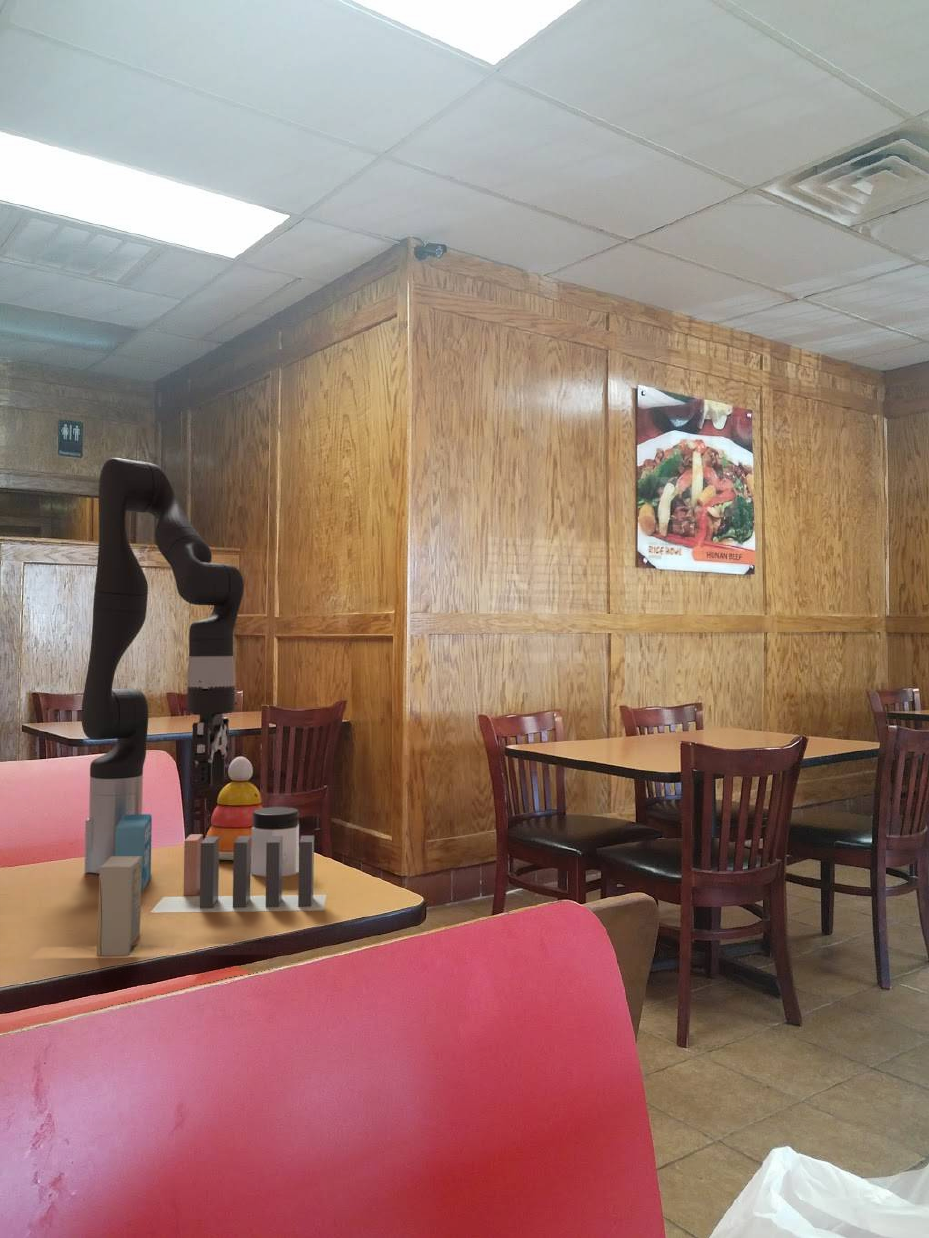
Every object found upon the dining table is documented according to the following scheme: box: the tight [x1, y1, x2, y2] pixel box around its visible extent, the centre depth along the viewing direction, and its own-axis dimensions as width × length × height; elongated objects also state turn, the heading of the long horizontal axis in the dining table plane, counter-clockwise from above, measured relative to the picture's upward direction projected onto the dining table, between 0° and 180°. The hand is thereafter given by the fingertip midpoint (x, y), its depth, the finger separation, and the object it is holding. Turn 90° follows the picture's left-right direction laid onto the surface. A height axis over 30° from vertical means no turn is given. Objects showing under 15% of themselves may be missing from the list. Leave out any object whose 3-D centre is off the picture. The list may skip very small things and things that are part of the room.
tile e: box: [297, 835, 315, 907], centre depth 152 cm, size 2×5×10 cm, turn 5°
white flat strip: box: [149, 894, 327, 914], centre depth 151 cm, size 26×9×1 cm, turn 95°
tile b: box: [199, 836, 220, 908], centre depth 151 cm, size 2×5×10 cm, turn 5°
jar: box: [250, 806, 300, 878], centre depth 172 cm, size 9×8×12 cm
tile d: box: [265, 836, 283, 907], centre depth 152 cm, size 2×5×10 cm, turn 5°
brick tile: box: [183, 833, 204, 896], centre depth 158 cm, size 2×5×10 cm, turn 5°
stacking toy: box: [205, 756, 264, 861], centre depth 190 cm, size 14×14×20 cm
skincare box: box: [96, 856, 142, 957], centre depth 132 cm, size 6×4×12 cm
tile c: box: [232, 836, 251, 908], centre depth 151 cm, size 2×5×10 cm, turn 5°
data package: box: [115, 813, 153, 892], centre depth 163 cm, size 12×4×12 cm, turn 13°
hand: (211, 783), depth 157 cm, fingers open, 8 cm apart
